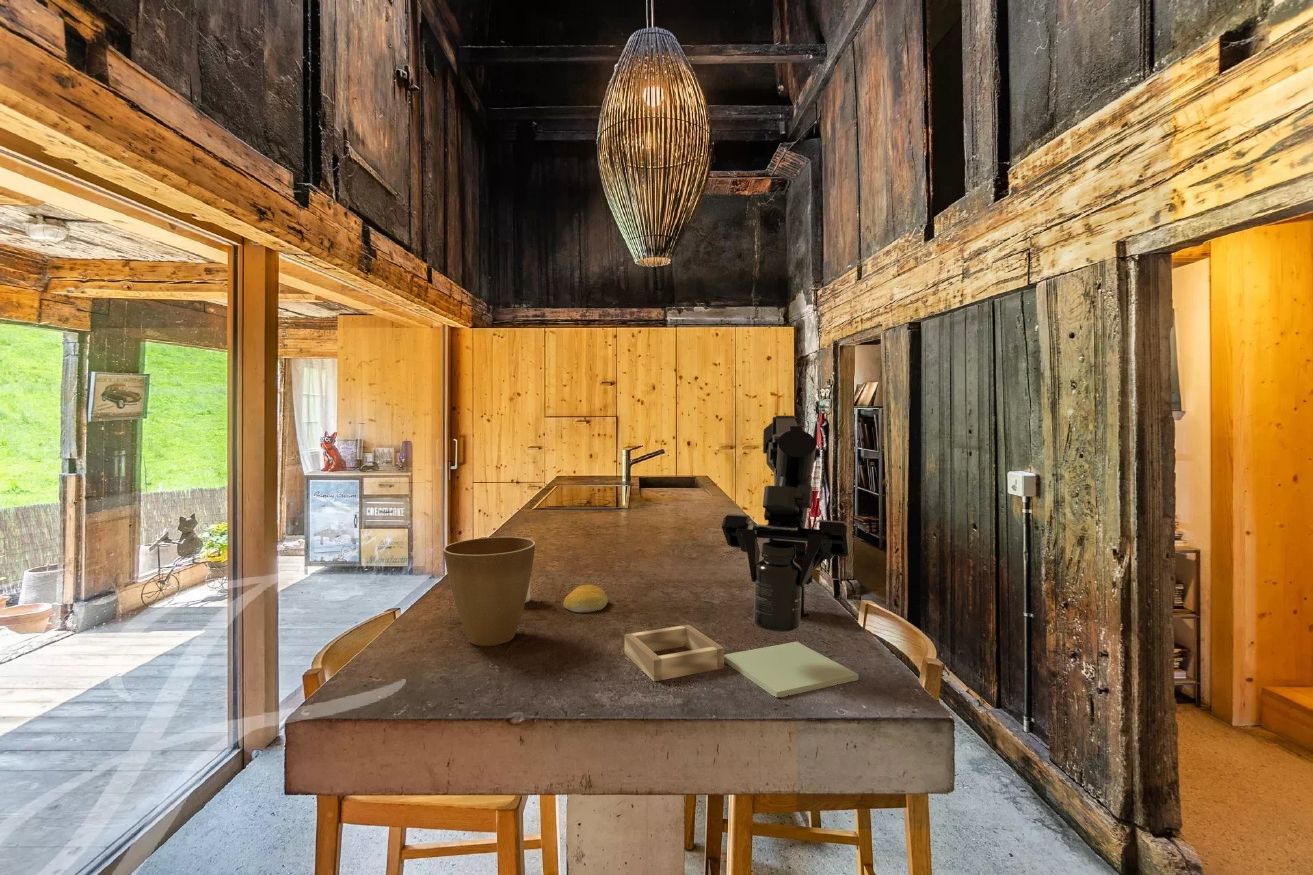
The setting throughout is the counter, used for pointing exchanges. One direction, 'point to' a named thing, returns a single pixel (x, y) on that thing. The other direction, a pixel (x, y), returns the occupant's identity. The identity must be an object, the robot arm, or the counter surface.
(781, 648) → the sage board
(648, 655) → the birch collar
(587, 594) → the bread roll
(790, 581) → the supplement bottle
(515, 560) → the plant pot
